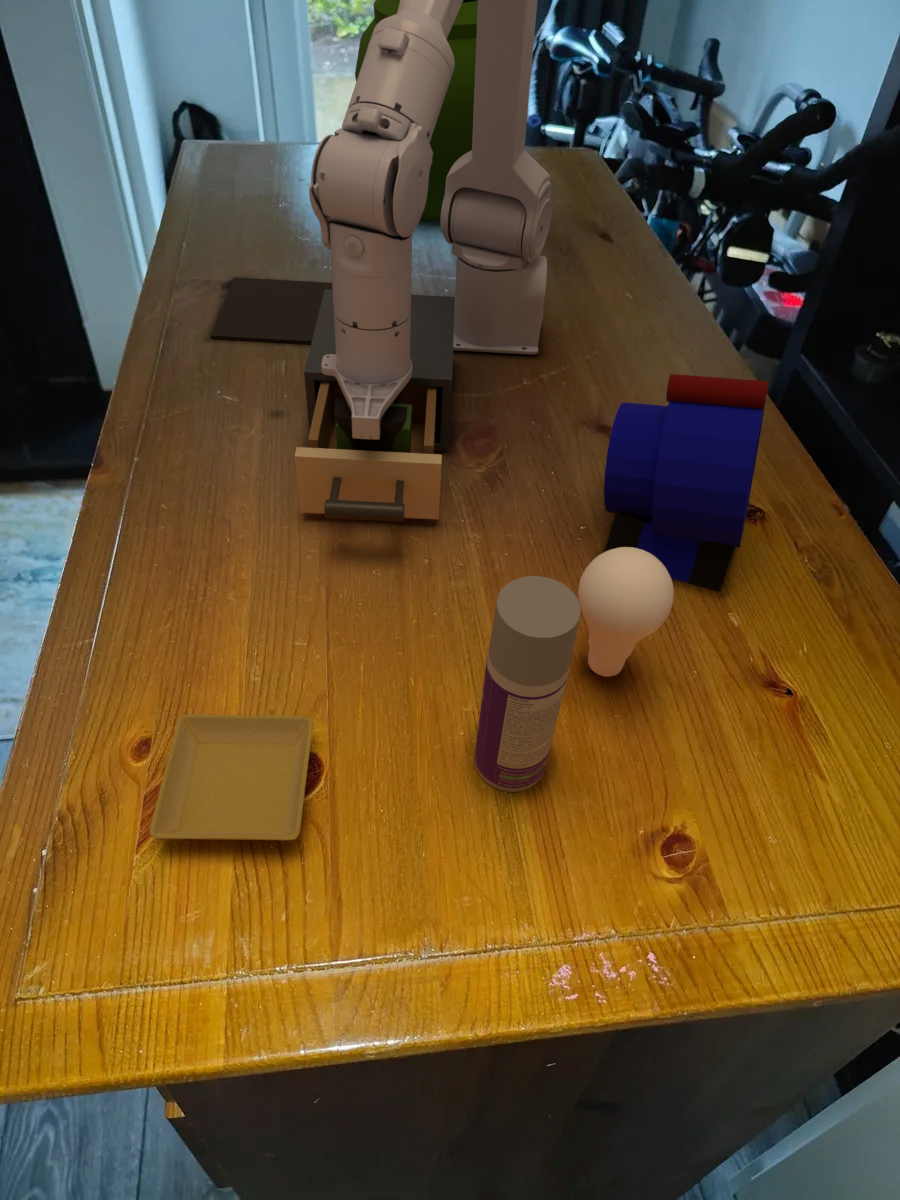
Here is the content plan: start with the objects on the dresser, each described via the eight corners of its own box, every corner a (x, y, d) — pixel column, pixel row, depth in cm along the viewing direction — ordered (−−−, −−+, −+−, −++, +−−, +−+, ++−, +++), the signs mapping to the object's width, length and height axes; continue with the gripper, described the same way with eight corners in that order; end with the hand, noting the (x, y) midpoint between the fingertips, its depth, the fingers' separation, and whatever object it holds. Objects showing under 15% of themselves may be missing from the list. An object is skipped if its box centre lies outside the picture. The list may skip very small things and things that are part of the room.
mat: (390, 289, 98) (390, 286, 98) (382, 348, 89) (382, 344, 89) (234, 280, 97) (234, 277, 97) (210, 338, 89) (210, 335, 88)
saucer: (153, 853, 50) (145, 837, 48) (184, 730, 55) (178, 712, 54) (301, 856, 50) (298, 840, 48) (316, 734, 56) (314, 715, 54)
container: (470, 732, 56) (489, 574, 46) (539, 729, 57) (574, 572, 46) (477, 794, 53) (500, 641, 42) (550, 790, 54) (591, 638, 43)
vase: (374, 174, 121) (371, -35, 103) (509, 188, 120) (530, -20, 102) (344, 231, 108) (334, 3, 90) (495, 248, 106) (516, 20, 89)
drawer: (437, 555, 67) (440, 498, 62) (292, 548, 66) (285, 491, 62) (442, 423, 79) (445, 369, 75) (320, 417, 78) (316, 361, 74)
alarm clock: (727, 594, 67) (794, 438, 56) (577, 551, 69) (612, 394, 58) (745, 501, 75) (807, 349, 64) (610, 466, 77) (647, 314, 66)
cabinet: (447, 451, 77) (452, 379, 72) (310, 444, 77) (303, 371, 71) (450, 365, 87) (454, 296, 82) (328, 359, 87) (324, 289, 81)
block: (411, 447, 74) (411, 404, 70) (408, 473, 71) (409, 429, 68) (342, 444, 74) (340, 400, 70) (337, 469, 71) (335, 425, 68)
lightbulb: (591, 716, 58) (623, 608, 50) (544, 653, 61) (567, 543, 53) (662, 685, 60) (704, 577, 52) (613, 627, 64) (645, 517, 56)
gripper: (329, 262, 67) (337, 406, 77) (305, 360, 57) (317, 511, 67) (417, 267, 67) (414, 411, 77) (408, 366, 58) (406, 515, 68)
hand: (375, 458), depth 72 cm, fingers closed on block, 3 cm apart
